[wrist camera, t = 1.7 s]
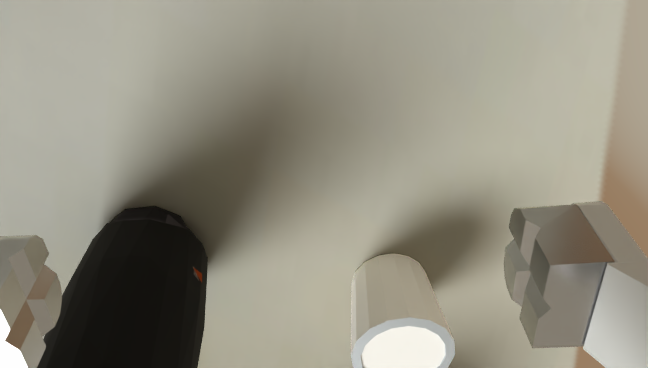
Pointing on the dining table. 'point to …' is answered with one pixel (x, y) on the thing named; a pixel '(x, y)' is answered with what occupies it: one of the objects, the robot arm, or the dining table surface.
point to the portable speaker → (133, 297)
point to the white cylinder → (397, 317)
